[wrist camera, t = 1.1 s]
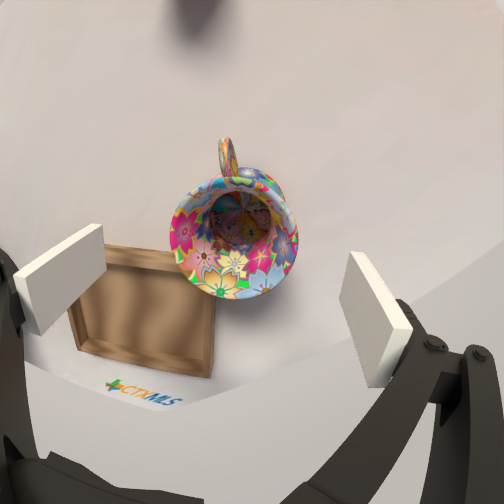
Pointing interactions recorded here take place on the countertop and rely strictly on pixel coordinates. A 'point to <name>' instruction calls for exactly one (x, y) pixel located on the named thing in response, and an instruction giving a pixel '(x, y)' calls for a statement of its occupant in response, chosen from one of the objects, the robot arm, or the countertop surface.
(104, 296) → the tray
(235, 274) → the mug
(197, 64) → the countertop surface
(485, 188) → the countertop surface
